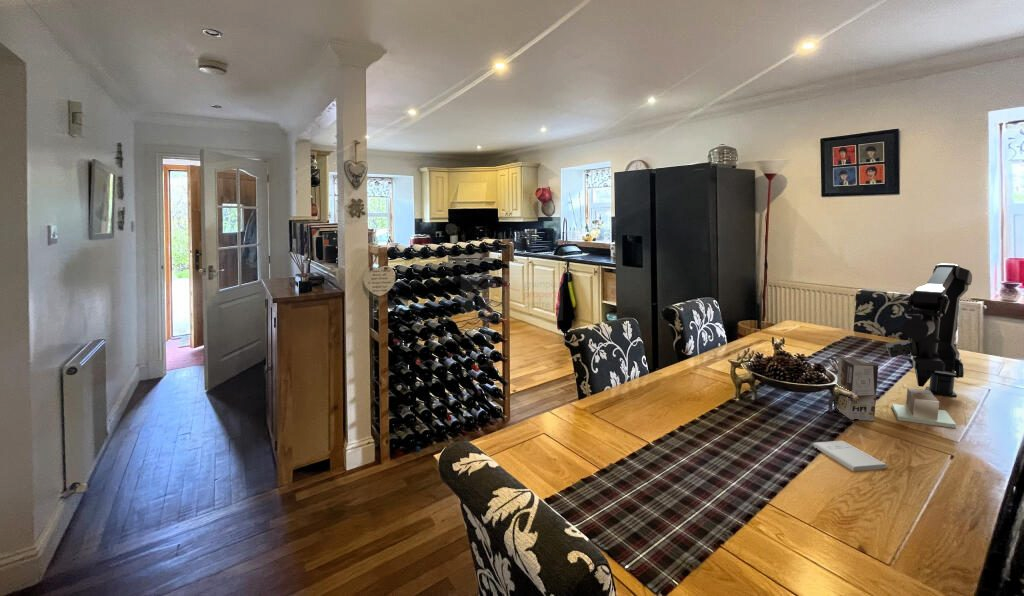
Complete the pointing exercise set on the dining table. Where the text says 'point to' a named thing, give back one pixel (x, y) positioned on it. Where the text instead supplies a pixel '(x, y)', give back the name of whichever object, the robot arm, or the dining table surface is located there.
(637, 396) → the dining table surface
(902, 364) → the dining table surface
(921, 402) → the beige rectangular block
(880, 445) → the dining table surface
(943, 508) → the dining table surface
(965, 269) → the robot arm
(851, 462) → the external hard drive
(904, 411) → the mat
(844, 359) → the coffee box
